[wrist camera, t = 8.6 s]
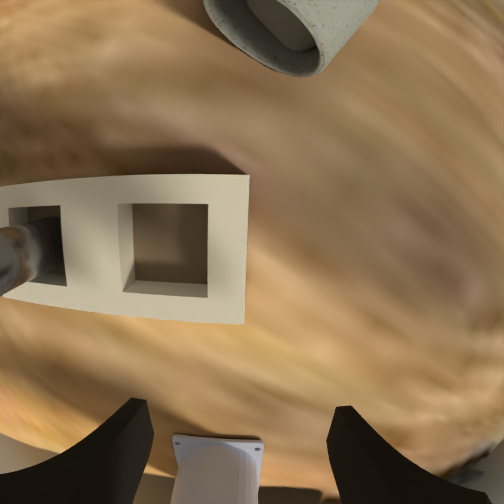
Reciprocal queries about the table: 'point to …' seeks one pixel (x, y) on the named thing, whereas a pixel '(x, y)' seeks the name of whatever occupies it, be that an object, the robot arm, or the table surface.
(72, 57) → the table surface
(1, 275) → the pin
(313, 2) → the ceramic mug
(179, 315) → the board
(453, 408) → the table surface
